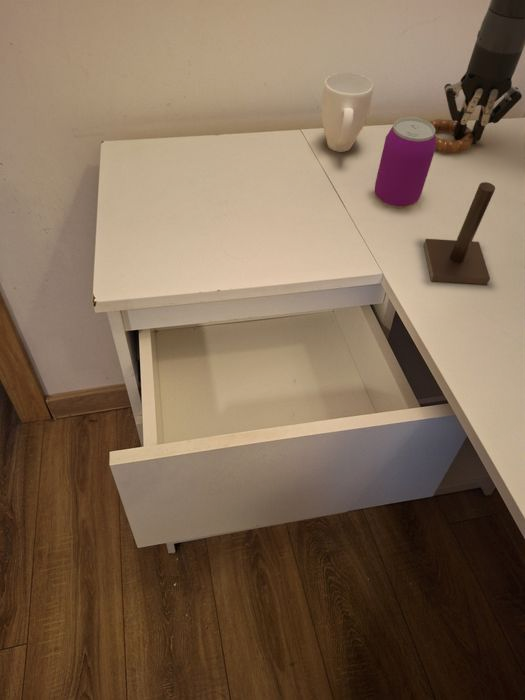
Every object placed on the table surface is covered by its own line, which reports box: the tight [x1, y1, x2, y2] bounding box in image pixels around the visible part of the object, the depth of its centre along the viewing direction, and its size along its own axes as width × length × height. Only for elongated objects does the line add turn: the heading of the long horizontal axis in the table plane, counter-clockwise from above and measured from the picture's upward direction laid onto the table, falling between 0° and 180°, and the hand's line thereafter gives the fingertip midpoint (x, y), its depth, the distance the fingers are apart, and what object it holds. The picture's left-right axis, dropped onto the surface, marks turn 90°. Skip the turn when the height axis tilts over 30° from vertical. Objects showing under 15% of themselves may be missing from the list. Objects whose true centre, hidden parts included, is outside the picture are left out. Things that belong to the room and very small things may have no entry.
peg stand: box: [423, 181, 496, 285], centre depth 71 cm, size 8×8×13 cm
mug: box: [320, 71, 374, 153], centre depth 90 cm, size 12×8×11 cm
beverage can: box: [374, 117, 437, 209], centre depth 81 cm, size 8×8×12 cm
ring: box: [428, 118, 474, 154], centre depth 96 cm, size 10×10×2 cm
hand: (465, 141), depth 97 cm, fingers closed on ring, 2 cm apart
